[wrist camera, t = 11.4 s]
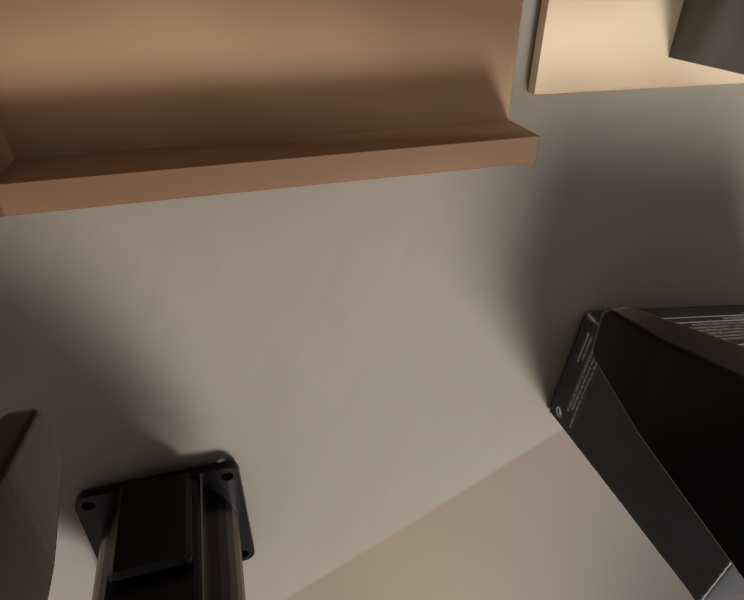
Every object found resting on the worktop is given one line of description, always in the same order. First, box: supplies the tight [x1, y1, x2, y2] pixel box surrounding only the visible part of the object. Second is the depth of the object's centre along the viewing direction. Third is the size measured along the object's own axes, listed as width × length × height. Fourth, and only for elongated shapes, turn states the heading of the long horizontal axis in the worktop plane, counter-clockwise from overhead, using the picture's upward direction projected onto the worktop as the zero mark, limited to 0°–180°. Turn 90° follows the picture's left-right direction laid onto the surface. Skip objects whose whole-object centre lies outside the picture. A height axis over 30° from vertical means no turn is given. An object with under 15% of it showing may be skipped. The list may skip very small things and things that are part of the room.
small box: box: [550, 306, 744, 600], centre depth 24 cm, size 11×6×10 cm, turn 82°
